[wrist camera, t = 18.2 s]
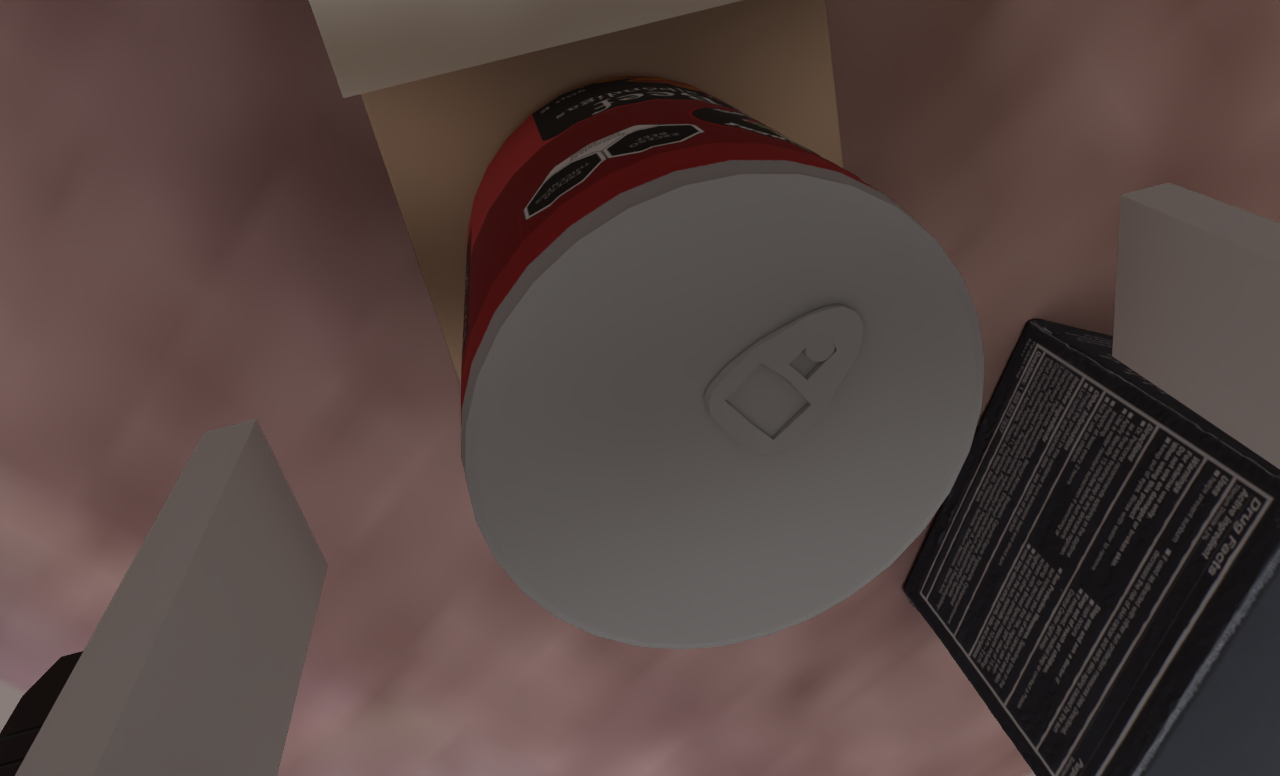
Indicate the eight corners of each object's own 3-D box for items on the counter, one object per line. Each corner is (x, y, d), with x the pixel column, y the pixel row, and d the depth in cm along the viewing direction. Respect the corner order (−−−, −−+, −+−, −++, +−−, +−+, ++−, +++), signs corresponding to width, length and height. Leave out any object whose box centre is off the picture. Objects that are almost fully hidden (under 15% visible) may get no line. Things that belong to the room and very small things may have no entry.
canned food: (826, 154, 23) (1094, 305, 13) (679, 414, 25) (808, 705, 15) (551, 6, 20) (623, 52, 10) (418, 311, 23) (375, 580, 13)
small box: (1052, 613, 33) (1281, 875, 23) (895, 592, 31) (1073, 865, 22) (1196, 352, 29) (1542, 541, 19) (1025, 312, 27) (1312, 497, 18)
